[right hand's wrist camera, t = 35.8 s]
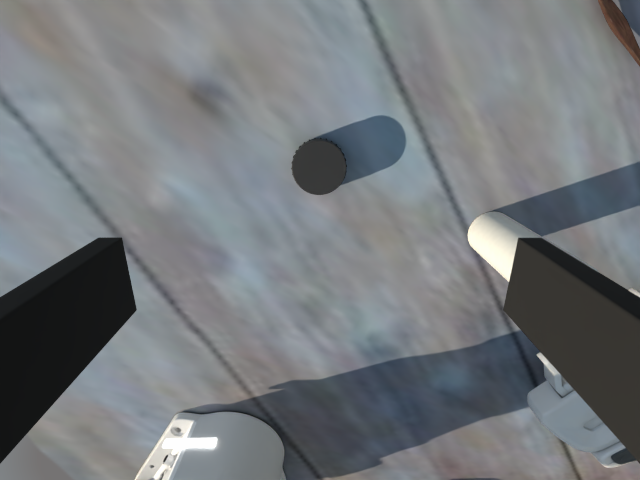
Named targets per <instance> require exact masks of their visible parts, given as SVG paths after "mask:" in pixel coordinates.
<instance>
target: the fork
mask: <svg viewBox="0 0 640 480" xmlns="http://www.w3.org/2000/svg"><path fill="white" fill-rule="evenodd" d="M598 2H599V4H600V7H601V9H602V12H603V14H604V16H605V19H606V21H607V23H608V25H609V27H610V28H611V30H612V31H613V33H614V34H615V35H616V37H617V38H618V39H619V40H620V42H621V43H622V44H623V45H624V46H625V48H626V49H627V50H628V51H629V53H630V54H631V55H632V57H633V58H634V59H635V61H636V62H637V63H638V65H639V66H640V48H639V46H638V44H637V42H636V39H635V37H634V35H633V32H632V30H631V28H630V26H629V23H628V21H627V20H626V18H625V16H624V15H623V13H622V12H621V11H620V9H619V8H618V7H617V6H616V4H615V3H614V2H613V1H612V0H598Z"/></svg>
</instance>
